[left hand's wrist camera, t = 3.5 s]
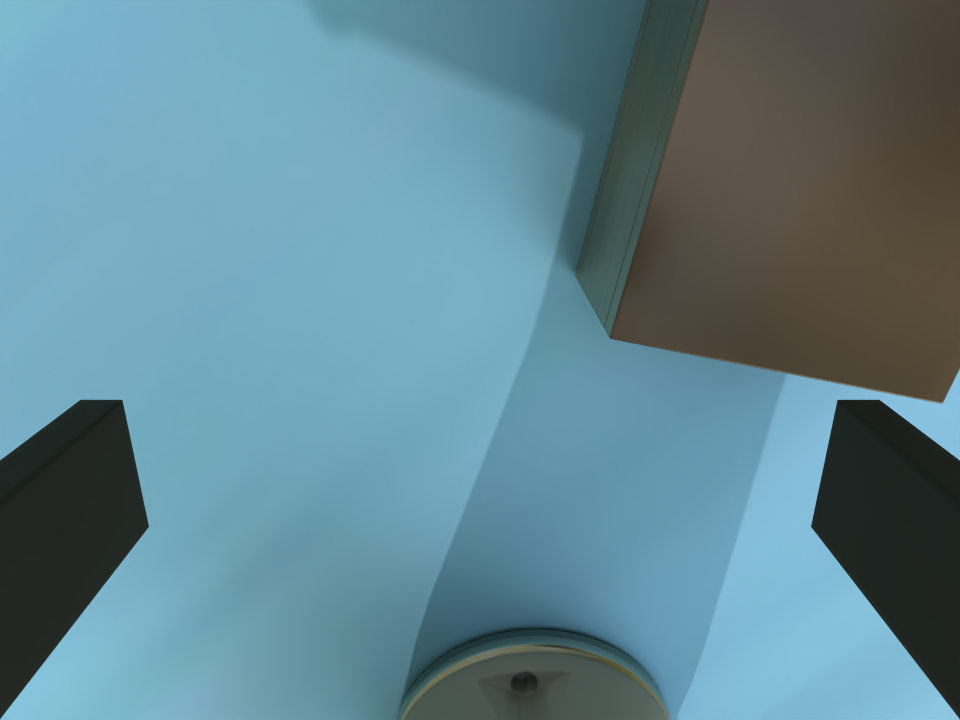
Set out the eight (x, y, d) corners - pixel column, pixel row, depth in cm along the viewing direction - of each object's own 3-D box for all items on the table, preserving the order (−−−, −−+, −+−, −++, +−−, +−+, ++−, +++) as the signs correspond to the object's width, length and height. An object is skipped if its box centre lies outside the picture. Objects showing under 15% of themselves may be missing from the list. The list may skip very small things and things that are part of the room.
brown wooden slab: (731, -326, 22) (868, -555, 14) (1053, -238, 22) (1345, -409, 15) (574, 276, 29) (609, 339, 21) (823, 327, 30) (943, 404, 22)
